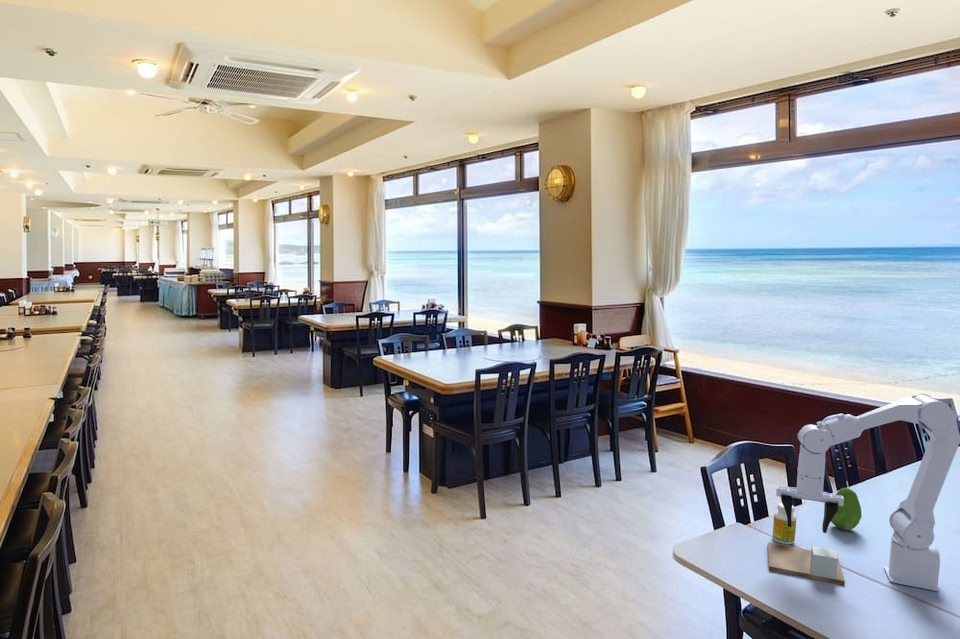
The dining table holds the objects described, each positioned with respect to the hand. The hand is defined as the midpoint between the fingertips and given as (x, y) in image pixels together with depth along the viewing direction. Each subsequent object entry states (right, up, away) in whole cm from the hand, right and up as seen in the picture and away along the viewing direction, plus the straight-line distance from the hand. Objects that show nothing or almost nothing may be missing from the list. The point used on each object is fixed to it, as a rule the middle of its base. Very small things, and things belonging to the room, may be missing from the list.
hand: (806, 528), depth 154 cm
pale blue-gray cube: (+1, -9, -5) cm, 10 cm away
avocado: (+22, -8, +23) cm, 33 cm away
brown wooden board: (0, -9, +1) cm, 9 cm away
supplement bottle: (+1, -8, +14) cm, 17 cm away
